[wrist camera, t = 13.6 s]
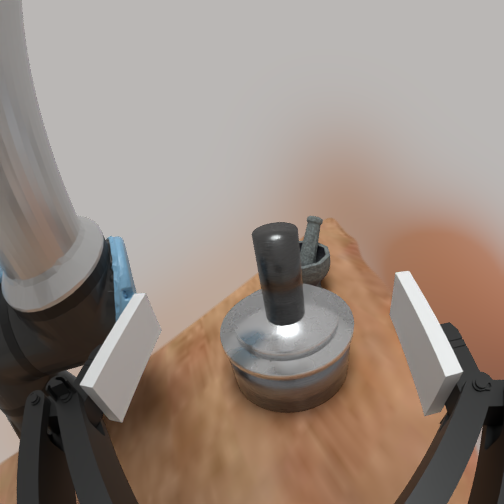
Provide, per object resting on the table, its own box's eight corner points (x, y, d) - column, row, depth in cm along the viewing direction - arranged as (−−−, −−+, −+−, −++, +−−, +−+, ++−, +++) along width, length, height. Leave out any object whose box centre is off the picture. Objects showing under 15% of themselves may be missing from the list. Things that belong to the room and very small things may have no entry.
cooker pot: (212, 366, 39) (197, 324, 36) (294, 313, 47) (289, 271, 43) (286, 437, 28) (280, 401, 24) (373, 359, 35) (379, 314, 31)
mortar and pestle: (311, 309, 47) (307, 243, 42) (267, 294, 53) (257, 233, 48) (342, 275, 54) (341, 216, 49) (301, 265, 60) (296, 209, 55)
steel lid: (216, 324, 35) (191, 239, 30) (289, 281, 41) (279, 202, 36) (281, 380, 26) (266, 280, 21) (359, 317, 32) (362, 224, 27)
